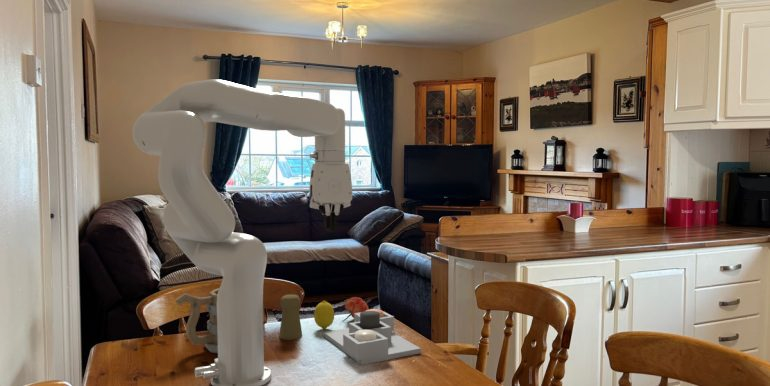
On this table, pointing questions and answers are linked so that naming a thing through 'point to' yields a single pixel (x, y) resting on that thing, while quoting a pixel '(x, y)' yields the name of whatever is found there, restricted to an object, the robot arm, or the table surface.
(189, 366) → the table surface
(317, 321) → the lemon
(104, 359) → the table surface
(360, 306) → the red flower
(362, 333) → the cream button
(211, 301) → the tankard
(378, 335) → the grey stepped holder base
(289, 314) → the olive green shaker
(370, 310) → the terracotta button
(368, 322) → the black button
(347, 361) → the table surface
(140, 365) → the table surface
